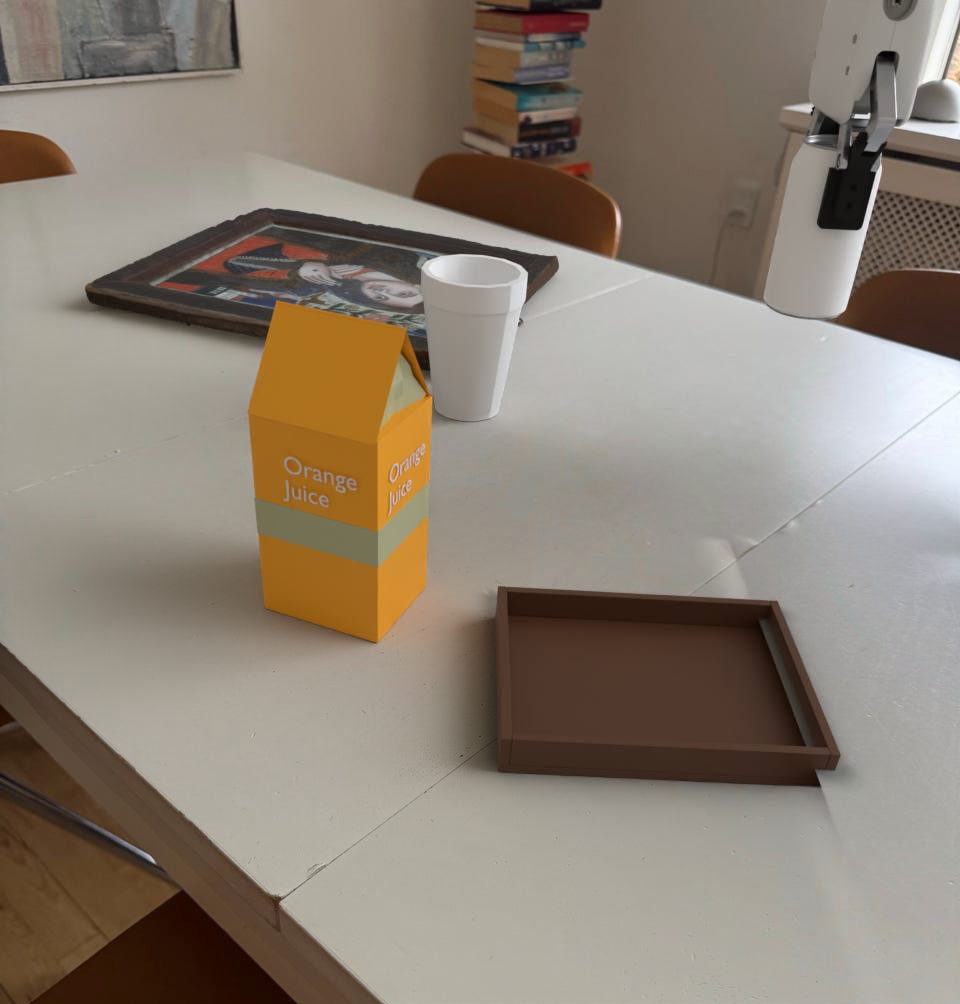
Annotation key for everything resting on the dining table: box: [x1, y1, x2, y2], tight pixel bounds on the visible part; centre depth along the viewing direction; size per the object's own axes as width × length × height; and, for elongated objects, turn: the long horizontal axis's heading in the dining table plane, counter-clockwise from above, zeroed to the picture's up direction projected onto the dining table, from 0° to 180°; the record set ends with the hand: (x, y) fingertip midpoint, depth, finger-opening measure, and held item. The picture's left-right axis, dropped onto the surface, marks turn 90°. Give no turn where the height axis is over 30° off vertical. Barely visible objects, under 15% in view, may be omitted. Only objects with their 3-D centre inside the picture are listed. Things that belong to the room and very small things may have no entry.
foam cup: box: [421, 254, 528, 422], centre depth 93 cm, size 10×9×13 cm
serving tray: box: [494, 585, 842, 788], centre depth 63 cm, size 19×15×3 cm
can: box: [763, 134, 883, 321], centre depth 76 cm, size 6×6×12 cm
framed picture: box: [84, 207, 560, 372], centre depth 120 cm, size 40×45×3 cm
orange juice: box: [246, 300, 433, 644], centre depth 64 cm, size 8×9×20 cm
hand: (825, 213), depth 75 cm, fingers closed on can, 6 cm apart
